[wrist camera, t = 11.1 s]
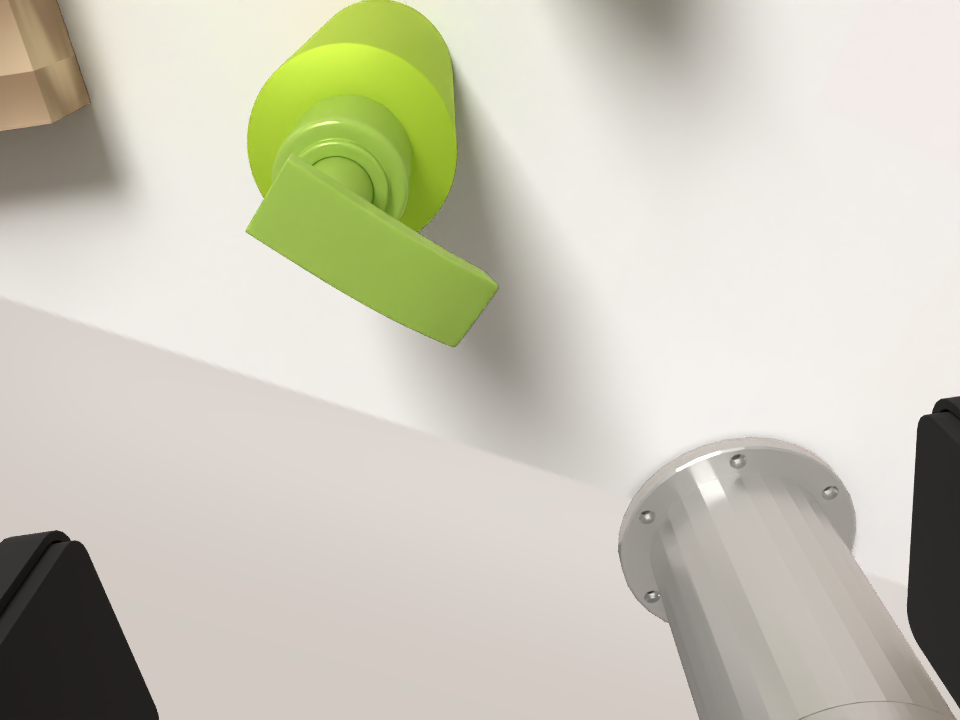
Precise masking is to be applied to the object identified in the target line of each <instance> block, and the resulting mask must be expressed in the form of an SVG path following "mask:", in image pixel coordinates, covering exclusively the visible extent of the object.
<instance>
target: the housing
mask: <svg viewBox="0 0 960 720" xmlns="http://www.w3.org/2000/svg"><path fill="white" fill-rule="evenodd" d="M89 103H91V102H90V99H89V96H88V93H87V90H86V87H85V84H84V81H83V78H82V75H81V72H80V69H79V66H78V63H77V60H76V57H75V54H74V51H73V48H72V45H71V42H70V39H69V36H68V33H67V30H66V27H65V24H64V21H63V18H62V15H61V12H60V9H59V6H58V3H57V0H0V131H5V130H11V129H18V128H25V127H31V126H38V125H45V124H51V123H54V122H56V121H58V120H60V119H61V118H63V117H65V116H67V115H69V114H71V113H72V112H74V111H76V110H78V109H80V108H82V107H84V106H85V105H87V104H89Z"/></svg>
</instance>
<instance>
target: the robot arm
mask: <svg viewBox="0 0 960 720" xmlns="http://www.w3.org/2000/svg"><path fill="white" fill-rule="evenodd" d="M855 532H856V518H855V510H854V507H853V503H852V500H851V497H850V495H849V493H848V491H847V490H846V488H845V487H844V485H843V483H842V482H841V480H840V479H839V477H838V476H837V475H836V474H835V472H834V471H833V470H832V469H831V467H830V466H829V465H828V464H827V463H826V462H824V461H823V460H822V459H820V458H819V457H818V456H816V455H815V454H814V453H812V452H810V451H808V450H806V449H804V448H802V447H799V446H797V445H795V444H792V443H788V442H784V441H780V440H776V439H768V438H753V437H749V438H738V439H728V440H724V441H720V442H716V443H712V444H708V445H704V446H702V447H699V448H697V449H695V450H692V451H690V452H688V453H685V454H683V455H681V456H680V457H678V458H676V459H675V460H673V461H672V462H670V463H668V464H667V465H665V466H664V467H662V468H661V469H660V470H659V471H658V472H657V473H655V474H654V475H653V476H652V477H651V478H650V479H649V480H648V481H646V483H645V484H644V485H643V486H642V488H641V489H640V490H639V491H638V493H637V494H636V495H635V496H634V498H633V499H632V501H631V503H630V505H629V507H628V509H627V511H626V513H625V515H624V517H623V521H622V524H621V528H620V532H619V545H618V552H619V557H620V562H621V567H622V570H623V573H624V576H625V579H626V582H627V585H628V587H629V588H630V590H631V591H632V593H633V594H634V596H635V598H636V599H637V600H638V601H639V602H640V603H641V604H642V605H643V606H644V607H645V608H646V609H647V610H648V611H649V612H651V613H652V614H654V615H655V616H657V617H659V618H660V619H662V620H664V621H665V622H668V623H669V625H670V628H671V631H672V634H673V637H674V640H675V644H676V646H677V650H678V653H679V656H680V659H681V663H682V666H683V669H684V672H685V675H686V678H687V682H688V684H689V688H690V691H691V694H692V697H693V701H694V704H695V707H696V710H697V713H698V716H699V719H700V720H957V719H956V718H955V716H954V715H953V714H952V712H951V710H950V709H949V707H948V705H947V704H946V702H945V700H944V699H943V697H942V696H941V694H940V693H939V691H938V689H937V688H936V686H935V685H934V683H933V681H932V680H931V678H930V677H929V675H928V674H927V672H926V670H925V669H924V667H923V666H922V664H921V663H920V661H919V660H918V658H917V657H916V655H915V653H914V652H913V650H912V649H911V647H910V645H909V644H908V642H907V641H906V639H905V638H904V636H903V634H902V633H901V631H900V630H899V628H898V626H897V625H896V623H895V622H894V620H893V618H892V617H891V615H890V614H889V612H888V611H887V609H886V608H885V606H884V604H883V603H882V601H881V600H880V598H879V597H878V595H877V593H876V592H875V590H874V589H873V587H872V586H871V584H870V582H869V581H868V579H867V578H866V576H865V574H864V573H863V571H862V570H861V568H860V567H859V565H858V563H857V562H856V560H855V559H854V557H853V555H852V554H851V550H852V548H853V543H854V538H855ZM907 615H908V620H909V624H910V628H911V631H912V633H913V636H914V638H915V640H916V642H917V643H918V645H919V647H920V648H921V650H922V651H923V653H924V654H925V656H926V658H927V659H928V661H929V662H930V664H931V665H932V667H933V668H934V670H935V671H936V673H937V674H938V676H939V678H940V679H941V681H942V682H943V684H944V685H945V687H946V688H947V690H948V691H949V693H950V694H951V696H952V697H953V699H954V700H955V702H956V704H957V705H958V707H959V708H960V396H958V397H952V398H945V399H940V400H939V401H938V402H936V404H935V406H934V408H933V411H932V414H929V415H924V416H922V417H921V418H920V420H919V422H918V428H917V442H916V459H915V476H914V494H913V511H912V528H911V545H910V563H909V580H908V597H907ZM0 720H159V716H158V712H157V709H156V706H155V704H154V702H153V700H152V697H151V695H150V693H149V691H148V688H147V686H146V684H145V681H144V679H143V677H142V675H141V672H140V670H139V668H138V665H137V663H136V661H135V659H134V656H133V654H132V652H131V649H130V647H129V645H128V643H127V640H126V638H125V636H124V634H123V631H122V629H121V627H120V624H119V622H118V620H117V618H116V615H115V613H114V611H113V609H112V606H111V604H110V602H109V600H108V597H107V595H106V593H105V590H104V588H103V586H102V584H101V581H100V579H99V577H98V574H97V572H96V570H95V568H94V565H93V563H92V561H91V559H90V556H89V554H88V552H87V550H86V548H85V547H84V545H83V544H82V543H80V542H79V541H71V540H70V538H69V537H68V536H67V535H66V534H64V533H63V532H61V531H57V530H55V531H48V532H42V533H35V534H29V535H22V536H15V537H10V538H6V539H4V540H3V541H2V542H1V543H0Z"/></svg>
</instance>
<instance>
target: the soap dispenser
mask: <svg viewBox="0 0 960 720" xmlns="http://www.w3.org/2000/svg"><path fill="white" fill-rule="evenodd" d="M247 148H248V157H249V163H250V167H251V170H252V174H253V177H254V179H255V182H256V184H257V186H258V188H259V190H260V192H261V194H262V196H263V198H264V200H263V201H262V203H261V205H260V207H259V208H258V210H257V212H256V213H255V215H254V217H253V219H252V220H251V222H250V224H249V225H248V227H247V229H246V232H247V233H248V234H250V235H251V236H253V237H254V238H256V239H257V240H259V241H261V242H262V243H264V244H265V245H267V246H268V247H270V248H272V249H273V250H275V251H276V252H278V253H280V254H281V255H283V256H284V257H286V258H287V259H289V260H291V261H292V262H294V263H295V264H297V265H299V266H300V267H302V268H303V269H305V270H307V271H308V272H310V273H312V274H313V275H315V276H316V277H318V278H320V279H321V280H323V281H325V282H326V283H328V284H329V285H331V286H333V287H334V288H336V289H338V290H340V291H341V292H343V293H345V294H346V295H348V296H350V297H351V298H353V299H355V300H357V301H358V302H360V303H362V304H364V305H366V306H367V307H369V308H371V309H373V310H375V311H377V312H378V313H380V314H382V315H384V316H386V317H388V318H390V319H392V320H394V321H396V322H398V323H400V324H402V325H404V326H406V327H408V328H410V329H412V330H415V331H417V332H419V333H421V334H423V335H425V336H428V337H430V338H432V339H434V340H437V341H439V342H441V343H444V344H446V345H449V346H451V347H456V346H457V345H458V344H459V342H460V341H461V340H462V338H463V337H464V335H465V334H466V333H467V331H468V330H469V329H470V327H471V326H472V325H473V323H474V322H475V321H476V319H477V318H478V317H479V315H480V314H481V312H482V311H483V310H484V308H485V307H486V306H487V304H488V303H489V301H490V300H491V299H492V297H493V296H494V295H495V293H496V292H497V290H498V288H499V286H498V284H497V283H496V282H495V281H494V280H493V279H492V278H491V277H490V276H489V275H488V274H487V273H486V272H484V271H483V270H481V269H480V268H478V267H476V266H474V265H473V264H471V263H469V262H467V261H465V260H463V259H461V258H459V257H458V256H456V255H454V254H452V253H450V252H449V251H447V250H445V249H444V248H442V247H440V246H438V245H437V244H435V243H433V242H432V241H430V240H428V239H427V238H425V237H423V236H422V235H420V234H418V233H417V232H418V231H419V230H421V229H422V228H423V227H424V226H425V225H426V224H428V223H429V222H430V221H431V219H432V218H433V217H434V216H435V215H436V214H437V212H438V211H439V209H440V208H441V206H442V205H443V203H444V201H445V200H446V198H447V196H448V193H449V191H450V189H451V186H452V183H453V179H454V176H455V171H456V164H457V138H456V120H455V102H454V85H453V69H452V62H451V58H450V54H449V51H448V48H447V46H446V44H445V42H444V40H443V38H442V36H441V34H440V33H439V32H438V30H437V29H436V28H435V26H434V25H433V24H432V23H431V22H430V21H429V20H428V19H427V18H426V17H425V16H423V15H422V14H421V13H419V12H418V11H416V10H415V9H413V8H411V7H409V6H407V5H404V4H402V3H399V2H395V1H390V0H366V1H362V2H358V3H355V4H353V5H350V6H348V7H346V8H344V9H343V10H341V11H340V12H338V13H337V14H336V15H335V16H333V17H332V18H331V19H330V20H329V21H328V22H327V23H326V24H325V25H324V26H323V27H322V28H321V29H320V30H319V31H317V32H316V33H315V34H314V35H313V36H312V37H311V38H310V39H309V40H308V41H307V42H306V43H305V44H304V45H303V46H302V47H301V48H300V49H298V50H297V51H296V52H295V53H294V54H293V55H292V56H291V57H290V58H289V59H288V60H287V61H286V62H285V63H284V64H283V65H282V66H281V67H279V68H278V69H277V70H276V71H275V72H274V73H273V75H272V76H271V77H270V78H269V79H268V81H267V82H266V83H265V85H264V86H263V88H262V89H261V91H260V93H259V95H258V97H257V99H256V101H255V103H254V106H253V109H252V112H251V115H250V120H249V125H248V134H247Z"/></svg>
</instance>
